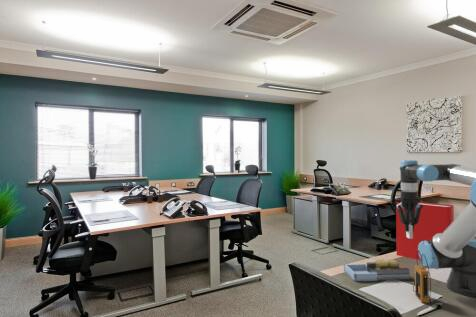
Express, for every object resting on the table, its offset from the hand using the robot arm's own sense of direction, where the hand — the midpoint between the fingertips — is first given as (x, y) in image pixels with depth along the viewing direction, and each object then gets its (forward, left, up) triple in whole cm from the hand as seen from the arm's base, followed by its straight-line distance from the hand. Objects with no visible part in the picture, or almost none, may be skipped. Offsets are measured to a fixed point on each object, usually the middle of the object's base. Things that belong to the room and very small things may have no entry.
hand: (409, 237), depth 154 cm
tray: (0, +25, -18) cm, 31 cm away
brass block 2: (0, +9, -16) cm, 18 cm away
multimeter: (-27, +7, -19) cm, 34 cm away
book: (+21, -22, -19) cm, 35 cm away
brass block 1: (0, +14, -16) cm, 22 cm away
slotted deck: (0, +11, -18) cm, 22 cm away
